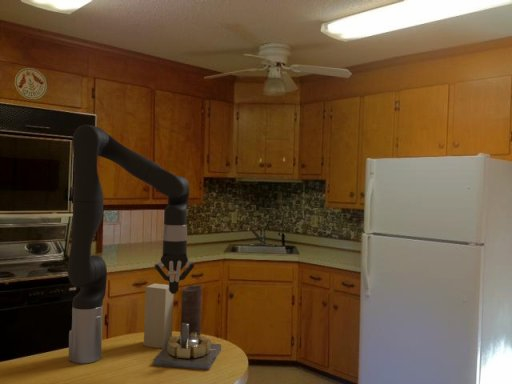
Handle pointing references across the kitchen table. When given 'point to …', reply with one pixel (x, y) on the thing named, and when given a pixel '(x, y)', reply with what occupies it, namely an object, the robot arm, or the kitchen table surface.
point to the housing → (192, 363)
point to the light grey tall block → (158, 315)
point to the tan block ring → (184, 348)
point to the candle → (191, 308)
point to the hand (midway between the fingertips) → (173, 293)
